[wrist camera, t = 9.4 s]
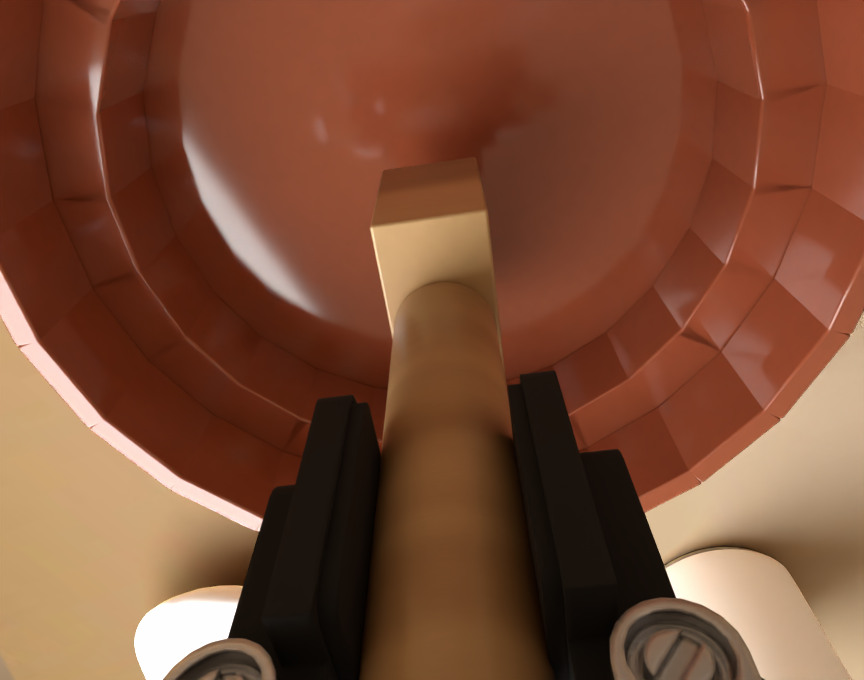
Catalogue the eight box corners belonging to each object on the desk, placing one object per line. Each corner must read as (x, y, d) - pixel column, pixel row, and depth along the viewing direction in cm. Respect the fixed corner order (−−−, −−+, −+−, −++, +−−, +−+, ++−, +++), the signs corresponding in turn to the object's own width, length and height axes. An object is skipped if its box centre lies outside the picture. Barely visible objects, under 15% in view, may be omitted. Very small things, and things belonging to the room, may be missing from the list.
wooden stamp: (381, 169, 17) (252, 730, 5) (476, 155, 17) (594, 702, 5) (413, 338, 19) (381, 987, 7) (495, 328, 19) (604, 975, 7)
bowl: (-65, -211, 15) (-336, -299, 9) (836, -392, 13) (1096, -613, 8) (209, 456, 24) (149, 593, 19) (748, 392, 23) (840, 522, 18)
